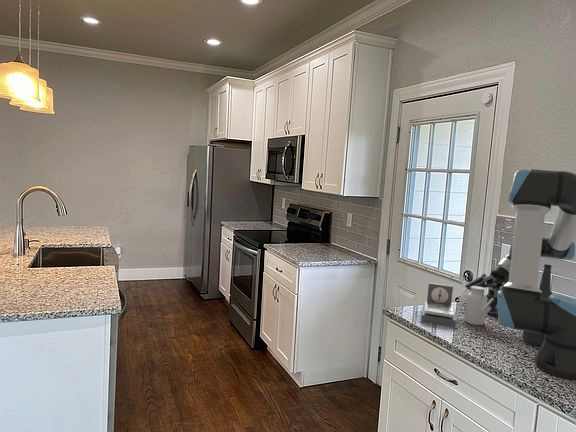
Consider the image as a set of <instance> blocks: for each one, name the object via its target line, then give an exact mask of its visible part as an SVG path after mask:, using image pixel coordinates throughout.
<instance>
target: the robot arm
mask: <svg viewBox="0 0 576 432" xmlns="http://www.w3.org/2000/svg"><path fill="white" fill-rule="evenodd" d="M513 176H514V177H513V179H512V180H513V181H512V184H511V188H510V192H509V196H508V200H507V201H508V202H509V203H512V205H511V208H512V210H513V211H514V212H515V220H514V221H515V222H514V228H513V229H514V230H513V237H512V239H511V243H510V248H509V251H508V253H507V254H506V255H505V256H504V257H503V258H502V259H501V260H500V261H499V263H497V265H496V266H494V267H493V268H492V270H491V272H490V274H489V275H486V273H483V274H481V276H479V277H478V278H476V279H474V280H472V281H471V282H469V283H467V284H465V285H464V286H465V288H466V290H465V291H464V292H463V293H462V296H460V297H459V298H458V299H457V300H458V301H459V303H460V304H461V305H464V303H466V298H467V294H468V293H470V292H471V286H479V287H483V288H484V289H485V288H488V289H490V288H491V289H494V297H493V298H494V299H493V298H491V300H490V301H489V302H488V303H487V304H486V305H485V306H484V307H483V308H482V309H481V310H482V311H483V312H484V314H486V315H487V313H488V312H489V311H490V310H491V309H492V308H494V307H495V306H496V304H498V315H497V319H498V320H497V321H498V323H499V325H500V326H503V327H505V328H509V329H512V330H518V331H519V330H520V331H522V332H523V331H529V332H534V333H539V334H544V335H545V337H544V342H543V344H542V346H541V347H539V350H538V351H537V353H536V355H535V358H534V365H535V366H536V367H537V368H538V369H540V371H541V370H542V371H543V372H545V373H547V374H549V375H553V376H555V377H559V378H562V379H565V380H566V379H567V380H571V381H576V298H572V297H569V296H567V295H561V294H555V293H554V294H553V293H552V295H550V297H549V299H547V298H542V291H541V290H540V289H539V284H538V282H539V276H540V275H539V273H540V263H541V257H542V258H543V257H544V258H551V259H555V260H556V259H557V260H567V261H570V260H573V259H574V257H575V253H576V243H575V242H574V241H573V240H574V238H575V235H576V173H573V172H571V171H564V170H546V169H545V170H544V169H534V168H531V169H530V168H529V169H518V170H516V172H515V173H514V175H513ZM552 206H554V207H555V206H556V207H558V209H557V213H556V216H555V220H554V222H553V225H552V229H551V231H550V235H549V237H548V238H544V237H543V236H544V226H545V217H546V215H547V214H548V213H549V212H550V211H551V209H552Z"/></svg>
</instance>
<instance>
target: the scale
mask: <svg viewBox="0 0 576 432" xmlns="http://www.w3.org/2000/svg"><path fill="white" fill-rule="evenodd" d="M453 291H454V285H450V284H444V283H436V282H431V281H430V282H429V281H428V287H427V297H426V298H427V299H426V302H431V303H438V304H444V305H451V306H452V298H453ZM425 304H426V303H422V310H421V311H422V313H421V323H426V324H429V325H431V324H432V325H437V326H441V327H442V326H443V327H447V328H454V329H455V328H456V325H457V324H456V323H457V319H456V318H457V317H456V311H455V308H454V307H453V313H454V318H452V317H446V316H440V315H433V314H427V313H425Z"/></svg>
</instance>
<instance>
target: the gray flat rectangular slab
mask: <svg viewBox="0 0 576 432" xmlns="http://www.w3.org/2000/svg"><path fill="white" fill-rule="evenodd" d="M424 304H425V313H427V314H433V315H440V316H446V317H452V318H454V313H453V308H454V307H453V305H452V304H451V305H444V304H438V303H431V302H427V301H425V303H424Z"/></svg>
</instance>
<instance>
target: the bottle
mask: <svg viewBox="0 0 576 432" xmlns="http://www.w3.org/2000/svg"><path fill="white" fill-rule="evenodd" d="M543 267H544V268H543V272H542V275H541V280H540V283H539V285H538V288H539V289H540V290H541V291H542V298H547V299H549V297H550V295H552V294H553V292H552V289H551V288H552V287H551V285H552V284H551V283H552V281H551V280H552V279H551V278H552V264H544V265H543ZM544 337H545V335H544V334H539V333H534V332H529V331H523V330H522V341H524V342H525V343H526V344H528V345H530V346H533V347H538V348H541V346H542V344H543V342H544Z"/></svg>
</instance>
